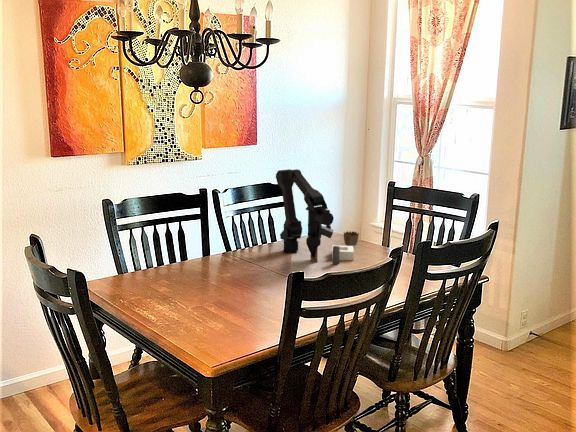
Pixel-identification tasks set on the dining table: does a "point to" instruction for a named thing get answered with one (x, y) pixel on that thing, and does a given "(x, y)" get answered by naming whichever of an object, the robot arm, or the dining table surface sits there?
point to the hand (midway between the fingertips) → (314, 254)
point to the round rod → (336, 254)
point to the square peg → (315, 256)
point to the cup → (351, 238)
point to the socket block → (345, 252)
